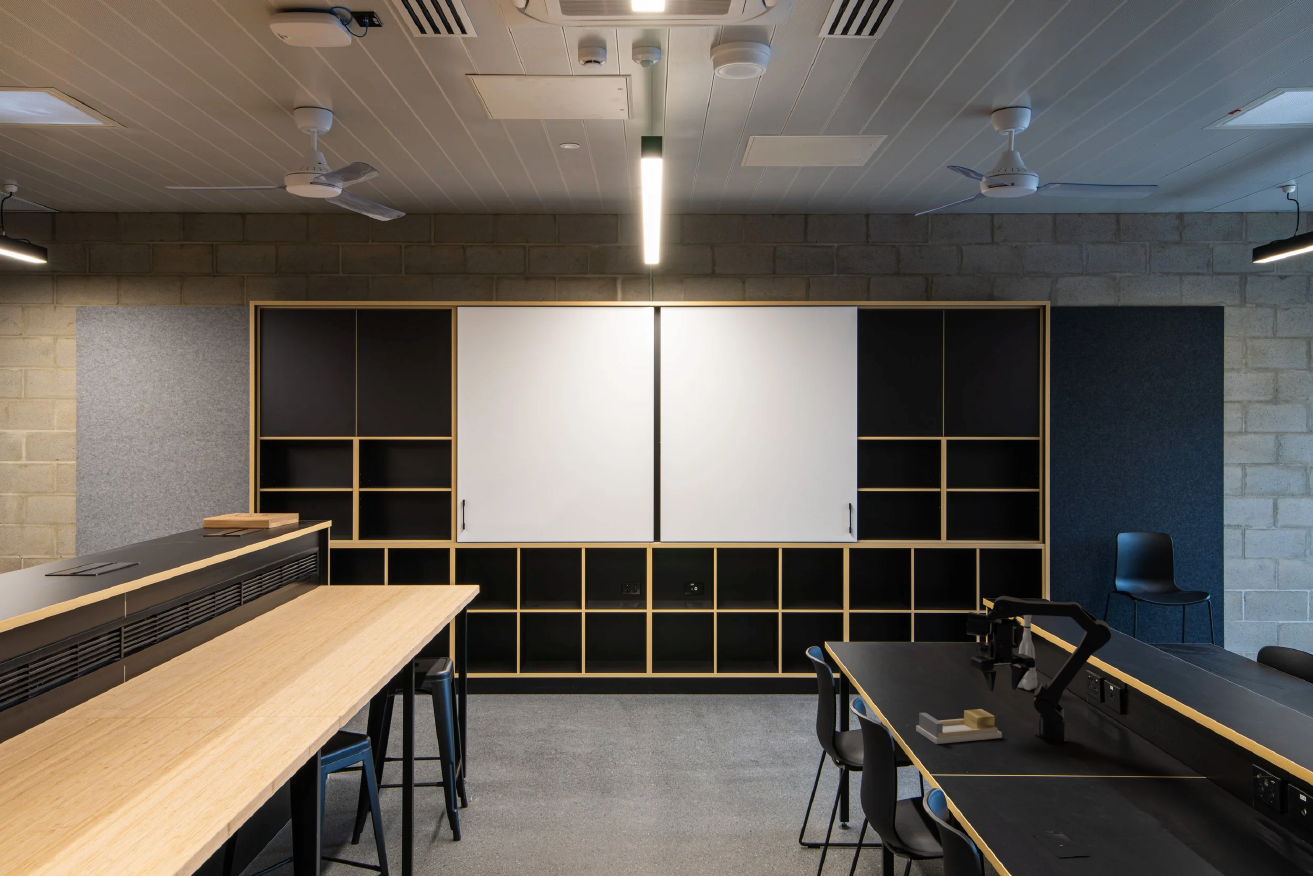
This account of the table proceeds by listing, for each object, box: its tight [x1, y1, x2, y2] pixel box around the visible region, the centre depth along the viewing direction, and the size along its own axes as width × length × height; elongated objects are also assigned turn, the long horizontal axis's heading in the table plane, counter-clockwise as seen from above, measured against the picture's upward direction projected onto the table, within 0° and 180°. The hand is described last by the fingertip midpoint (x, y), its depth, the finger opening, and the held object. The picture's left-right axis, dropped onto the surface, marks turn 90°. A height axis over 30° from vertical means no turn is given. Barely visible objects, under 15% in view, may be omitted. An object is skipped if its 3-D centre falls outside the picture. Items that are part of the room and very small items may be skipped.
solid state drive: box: [1034, 830, 1082, 849], centre depth 165 cm, size 7×10×1 cm
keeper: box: [963, 708, 996, 729], centre depth 227 cm, size 6×6×4 cm
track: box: [915, 712, 1003, 745], centre depth 225 cm, size 22×10×6 cm, turn 104°
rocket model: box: [1017, 615, 1038, 691], centre depth 268 cm, size 7×7×30 cm
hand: (1002, 690), depth 229 cm, fingers open, 8 cm apart
